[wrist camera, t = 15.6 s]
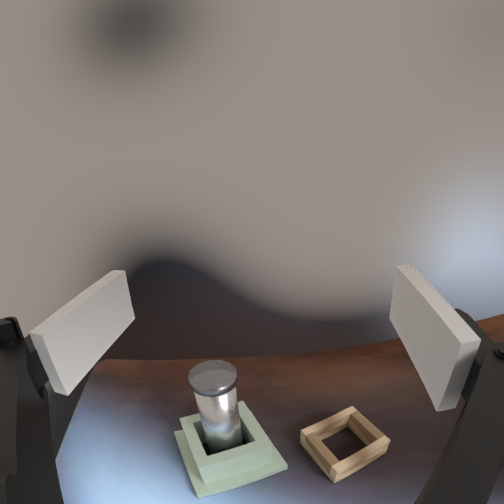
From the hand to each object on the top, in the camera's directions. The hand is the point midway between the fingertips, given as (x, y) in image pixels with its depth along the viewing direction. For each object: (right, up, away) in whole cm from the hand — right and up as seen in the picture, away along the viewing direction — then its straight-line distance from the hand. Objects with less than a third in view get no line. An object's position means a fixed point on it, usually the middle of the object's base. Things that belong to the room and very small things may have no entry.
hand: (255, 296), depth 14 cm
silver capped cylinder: (-3, -25, +21) cm, 33 cm away
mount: (+12, -25, +20) cm, 34 cm away
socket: (-3, -25, +21) cm, 33 cm away
